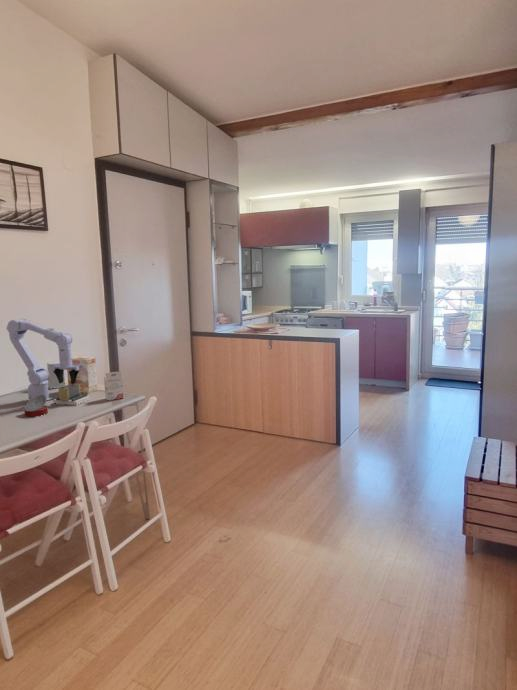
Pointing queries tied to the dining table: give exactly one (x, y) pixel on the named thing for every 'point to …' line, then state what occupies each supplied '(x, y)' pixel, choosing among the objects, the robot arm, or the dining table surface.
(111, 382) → the ink cartridge box
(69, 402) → the stand
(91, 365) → the coffeecake box
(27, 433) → the dining table surface
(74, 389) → the housing
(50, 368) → the skincare box
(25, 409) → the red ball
